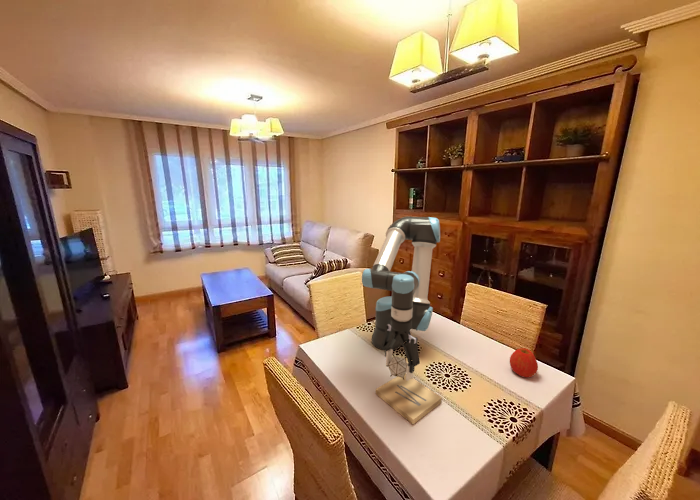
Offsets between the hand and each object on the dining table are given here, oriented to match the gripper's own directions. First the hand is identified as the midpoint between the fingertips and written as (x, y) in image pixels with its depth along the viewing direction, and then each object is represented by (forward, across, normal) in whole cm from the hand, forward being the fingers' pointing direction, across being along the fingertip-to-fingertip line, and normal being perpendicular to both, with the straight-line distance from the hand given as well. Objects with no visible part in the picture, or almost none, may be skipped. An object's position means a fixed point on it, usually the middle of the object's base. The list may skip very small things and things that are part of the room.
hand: (398, 371), depth 107 cm
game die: (+2, 0, 0) cm, 2 cm away
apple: (+8, +25, +50) cm, 57 cm away
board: (+8, +5, 0) cm, 10 cm away
